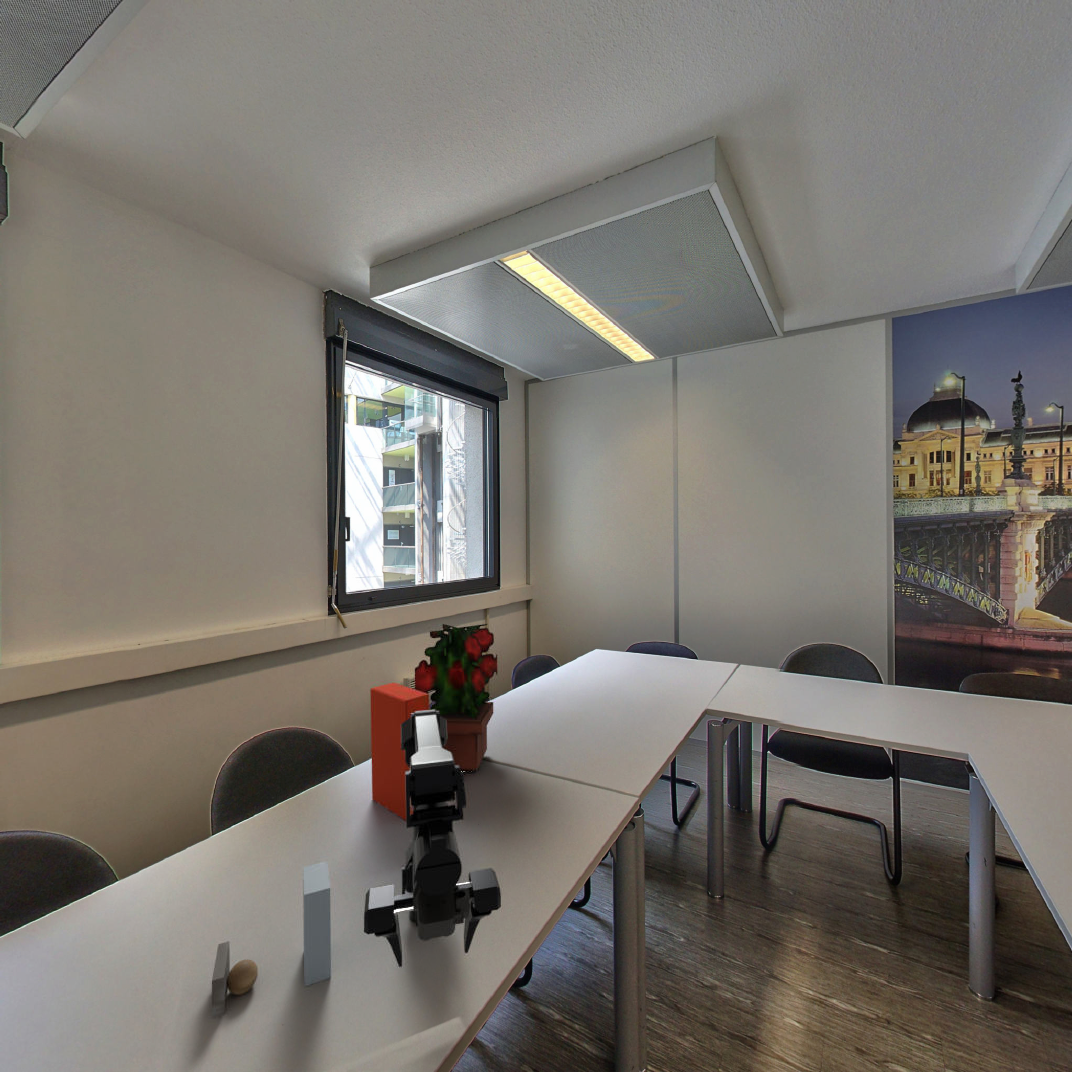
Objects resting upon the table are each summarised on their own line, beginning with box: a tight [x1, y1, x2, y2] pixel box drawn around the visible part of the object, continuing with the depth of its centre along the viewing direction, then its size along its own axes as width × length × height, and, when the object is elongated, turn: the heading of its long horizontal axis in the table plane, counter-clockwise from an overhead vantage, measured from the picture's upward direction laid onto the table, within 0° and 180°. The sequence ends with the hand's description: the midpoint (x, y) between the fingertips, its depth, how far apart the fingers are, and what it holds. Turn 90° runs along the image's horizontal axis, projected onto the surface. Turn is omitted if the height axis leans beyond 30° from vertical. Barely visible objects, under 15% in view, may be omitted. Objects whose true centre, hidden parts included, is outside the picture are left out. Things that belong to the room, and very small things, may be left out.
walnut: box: [227, 959, 259, 996], centre depth 85 cm, size 4×4×4 cm
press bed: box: [211, 940, 231, 1019], centre depth 88 cm, size 20×11×7 cm, turn 115°
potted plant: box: [414, 623, 498, 773], centre depth 173 cm, size 22×22×45 cm
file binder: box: [370, 682, 430, 821], centre depth 147 cm, size 8×17×32 cm, turn 47°
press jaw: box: [302, 860, 332, 987], centre depth 90 cm, size 4×8×15 cm, turn 25°
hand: (433, 957), depth 75 cm, fingers open, 9 cm apart
